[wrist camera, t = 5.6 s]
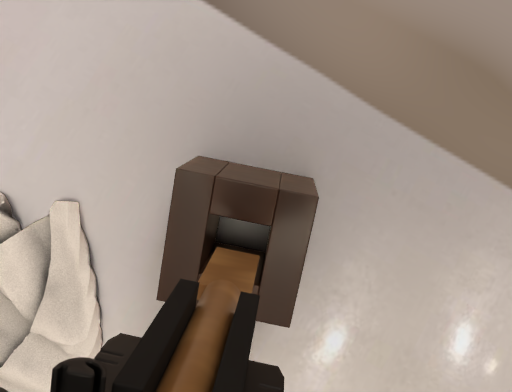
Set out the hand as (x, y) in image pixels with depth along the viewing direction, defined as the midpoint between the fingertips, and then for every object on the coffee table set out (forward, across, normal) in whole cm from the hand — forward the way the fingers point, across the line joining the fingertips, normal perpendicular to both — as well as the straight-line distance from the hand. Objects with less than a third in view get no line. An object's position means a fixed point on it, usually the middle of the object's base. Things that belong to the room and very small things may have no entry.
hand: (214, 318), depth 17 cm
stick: (+7, 0, 0) cm, 7 cm away
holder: (+14, 0, 0) cm, 14 cm away
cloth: (+14, -17, -10) cm, 24 cm away
